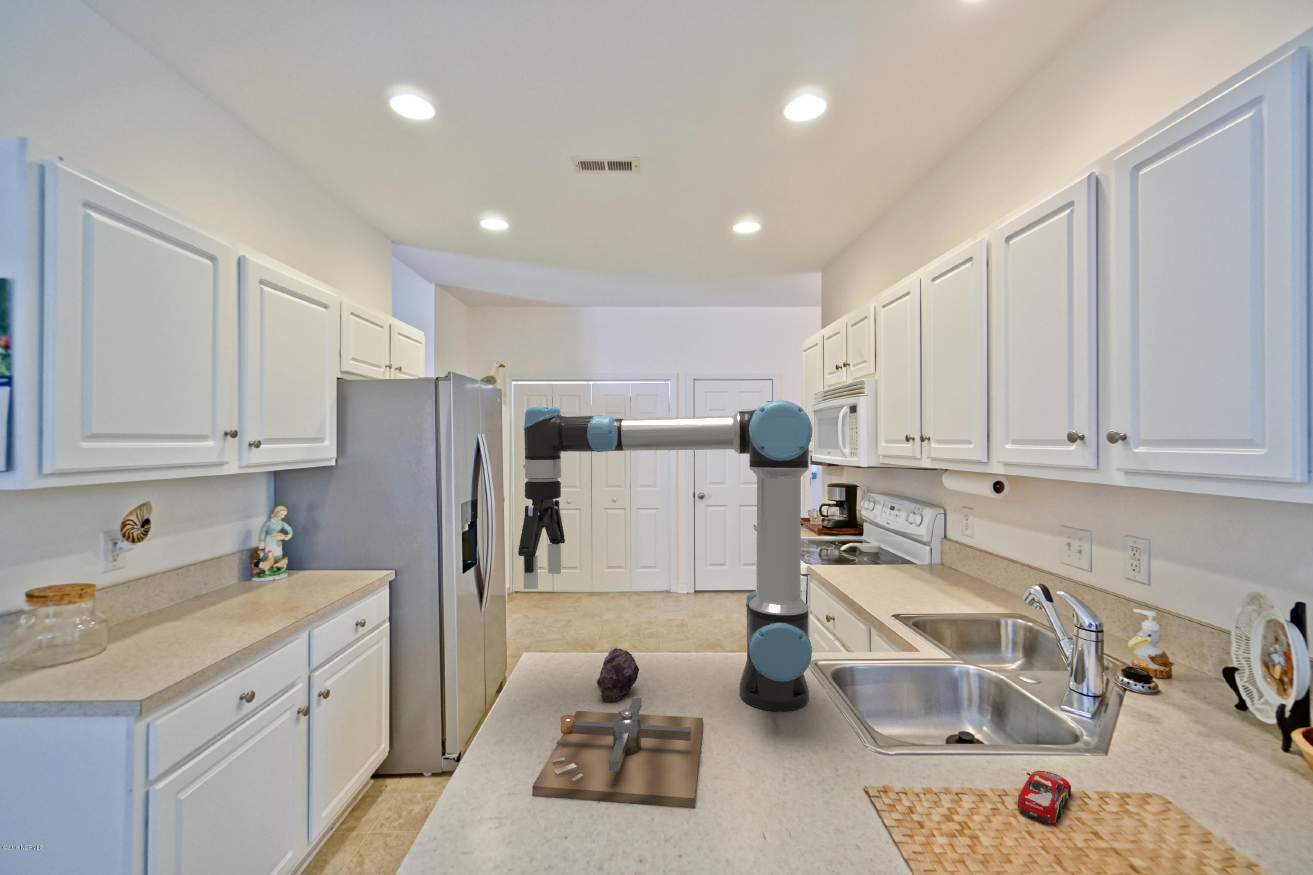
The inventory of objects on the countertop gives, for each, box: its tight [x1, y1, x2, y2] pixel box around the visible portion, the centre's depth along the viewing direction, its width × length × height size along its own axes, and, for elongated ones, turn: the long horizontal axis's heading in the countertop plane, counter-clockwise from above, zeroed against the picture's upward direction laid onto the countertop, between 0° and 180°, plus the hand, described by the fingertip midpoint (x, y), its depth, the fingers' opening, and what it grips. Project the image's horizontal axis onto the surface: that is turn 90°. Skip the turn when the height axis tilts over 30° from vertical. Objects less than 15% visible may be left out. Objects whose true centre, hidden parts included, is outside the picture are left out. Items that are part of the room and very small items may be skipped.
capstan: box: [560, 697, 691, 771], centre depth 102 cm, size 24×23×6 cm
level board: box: [531, 710, 704, 809], centre depth 101 cm, size 26×26×2 cm
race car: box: [1017, 770, 1072, 824], centre depth 88 cm, size 13×5×4 cm, turn 133°
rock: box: [596, 647, 640, 703], centre depth 128 cm, size 12×9×10 cm
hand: (543, 580), depth 119 cm, fingers open, 13 cm apart
